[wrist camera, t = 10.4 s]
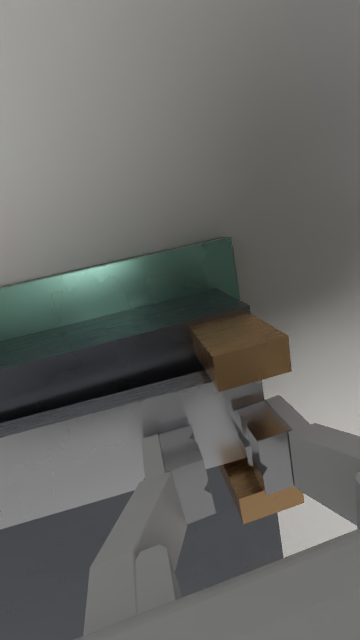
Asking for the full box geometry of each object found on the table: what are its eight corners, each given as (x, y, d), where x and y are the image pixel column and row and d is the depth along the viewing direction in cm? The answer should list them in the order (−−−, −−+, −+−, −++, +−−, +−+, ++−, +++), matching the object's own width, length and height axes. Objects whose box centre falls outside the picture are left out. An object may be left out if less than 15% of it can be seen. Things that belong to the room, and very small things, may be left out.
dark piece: (-138, 317, 12) (-482, 425, 5) (223, 237, 13) (323, 237, 7) (78, 703, 20) (58, 933, 13) (281, 620, 22) (351, 785, 15)
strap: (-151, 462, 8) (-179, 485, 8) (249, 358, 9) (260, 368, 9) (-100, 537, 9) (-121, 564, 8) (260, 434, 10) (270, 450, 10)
